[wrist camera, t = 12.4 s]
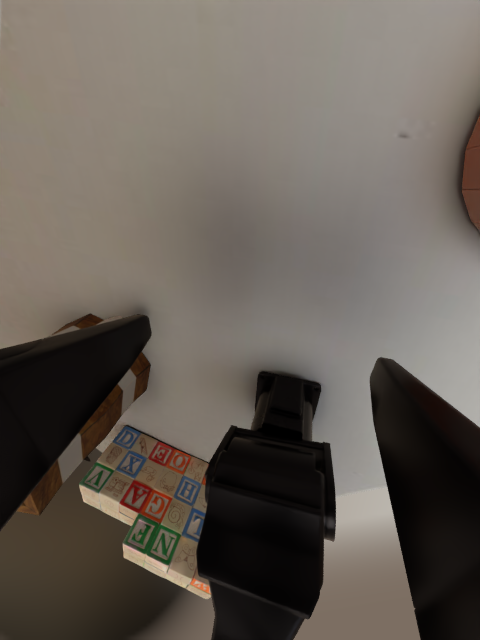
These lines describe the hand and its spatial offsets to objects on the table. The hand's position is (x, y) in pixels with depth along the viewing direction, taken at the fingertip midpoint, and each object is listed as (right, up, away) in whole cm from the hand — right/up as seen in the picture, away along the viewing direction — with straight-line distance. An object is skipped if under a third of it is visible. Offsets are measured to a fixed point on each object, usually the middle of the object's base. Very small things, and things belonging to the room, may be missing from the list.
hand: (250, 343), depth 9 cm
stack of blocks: (-10, -23, +30) cm, 39 cm away
